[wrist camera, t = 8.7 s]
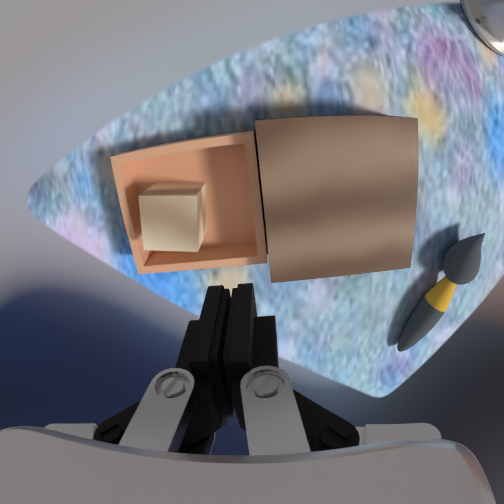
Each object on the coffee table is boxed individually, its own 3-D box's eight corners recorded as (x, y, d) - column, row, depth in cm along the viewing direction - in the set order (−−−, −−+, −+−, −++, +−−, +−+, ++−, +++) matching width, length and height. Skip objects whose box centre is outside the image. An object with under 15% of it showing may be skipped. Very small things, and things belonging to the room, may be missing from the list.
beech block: (196, 195, 24) (205, 182, 29) (138, 195, 24) (156, 182, 29) (198, 252, 26) (206, 230, 31) (143, 250, 26) (159, 229, 31)
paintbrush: (414, 346, 40) (427, 369, 35) (389, 344, 39) (400, 368, 35) (477, 226, 31) (499, 242, 27) (452, 215, 31) (475, 231, 26)
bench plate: (254, 120, 27) (254, 121, 22) (389, 115, 26) (417, 118, 21) (268, 253, 33) (271, 282, 28) (388, 242, 32) (410, 267, 27)
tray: (126, 151, 28) (110, 157, 25) (253, 130, 28) (253, 132, 24) (150, 256, 33) (138, 274, 30) (266, 245, 33) (267, 262, 29)
